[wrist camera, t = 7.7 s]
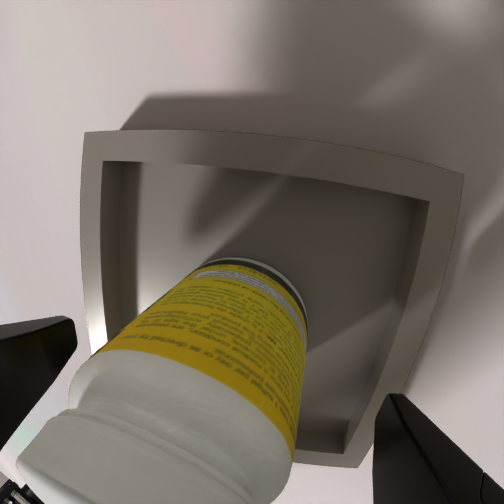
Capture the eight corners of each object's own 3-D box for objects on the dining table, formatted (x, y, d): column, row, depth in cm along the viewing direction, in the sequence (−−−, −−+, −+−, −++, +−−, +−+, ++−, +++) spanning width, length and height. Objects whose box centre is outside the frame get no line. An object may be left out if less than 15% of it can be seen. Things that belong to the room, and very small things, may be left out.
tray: (121, 385, 14) (103, 405, 12) (114, 135, 10) (84, 132, 9) (356, 440, 12) (357, 468, 10) (440, 173, 8) (464, 174, 7)
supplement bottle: (185, 239, 10) (-45, 374, 2) (325, 273, 9) (327, 560, 1) (173, 354, 11) (47, 514, 3) (289, 387, 11) (240, 598, 3)
